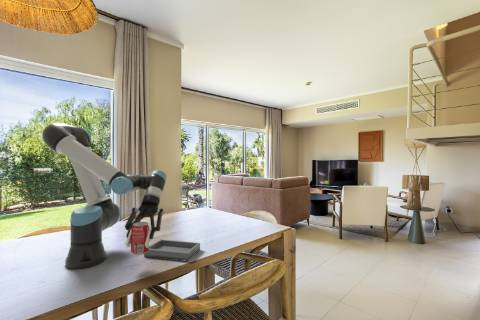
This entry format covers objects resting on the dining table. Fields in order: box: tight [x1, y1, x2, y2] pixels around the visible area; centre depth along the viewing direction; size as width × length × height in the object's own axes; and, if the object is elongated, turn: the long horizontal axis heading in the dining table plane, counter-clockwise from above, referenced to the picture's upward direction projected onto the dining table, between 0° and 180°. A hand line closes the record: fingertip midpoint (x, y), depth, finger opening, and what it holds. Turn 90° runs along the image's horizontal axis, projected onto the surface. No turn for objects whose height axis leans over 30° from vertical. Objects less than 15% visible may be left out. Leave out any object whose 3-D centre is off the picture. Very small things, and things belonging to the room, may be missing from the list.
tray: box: [143, 238, 201, 262], centre depth 116 cm, size 22×14×4 cm, turn 77°
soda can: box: [130, 221, 150, 256], centre depth 100 cm, size 7×7×12 cm
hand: (136, 245), depth 96 cm, fingers closed on soda can, 7 cm apart
